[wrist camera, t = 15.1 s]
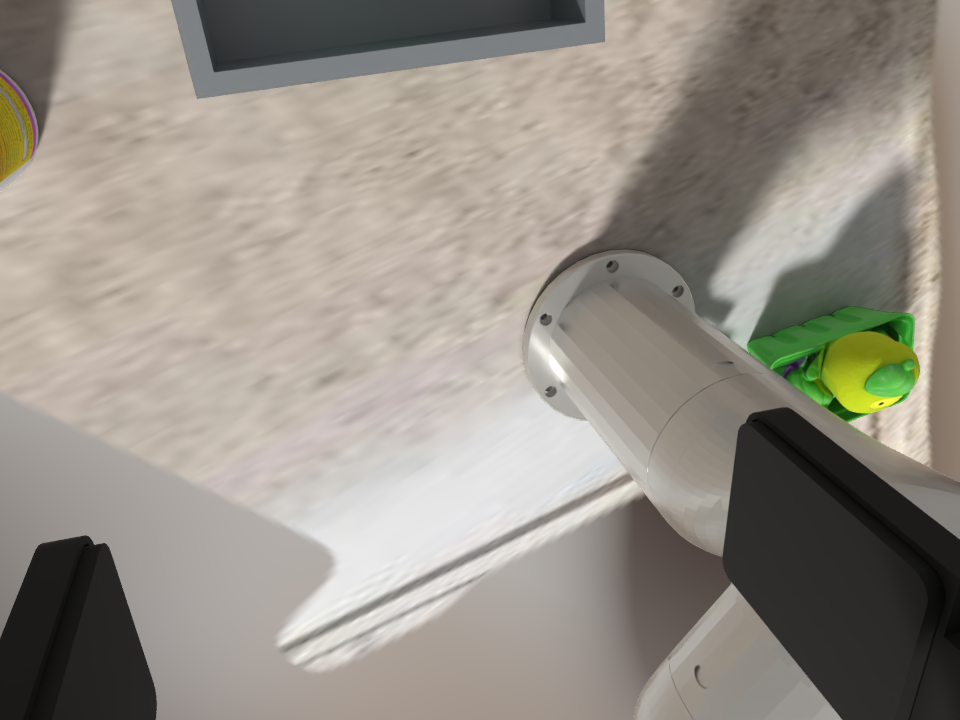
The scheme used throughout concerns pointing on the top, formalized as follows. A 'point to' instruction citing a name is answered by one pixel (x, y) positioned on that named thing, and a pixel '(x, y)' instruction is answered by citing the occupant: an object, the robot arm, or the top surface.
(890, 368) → the fruit basket
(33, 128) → the supplement bottle
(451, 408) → the top surface
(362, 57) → the bin
